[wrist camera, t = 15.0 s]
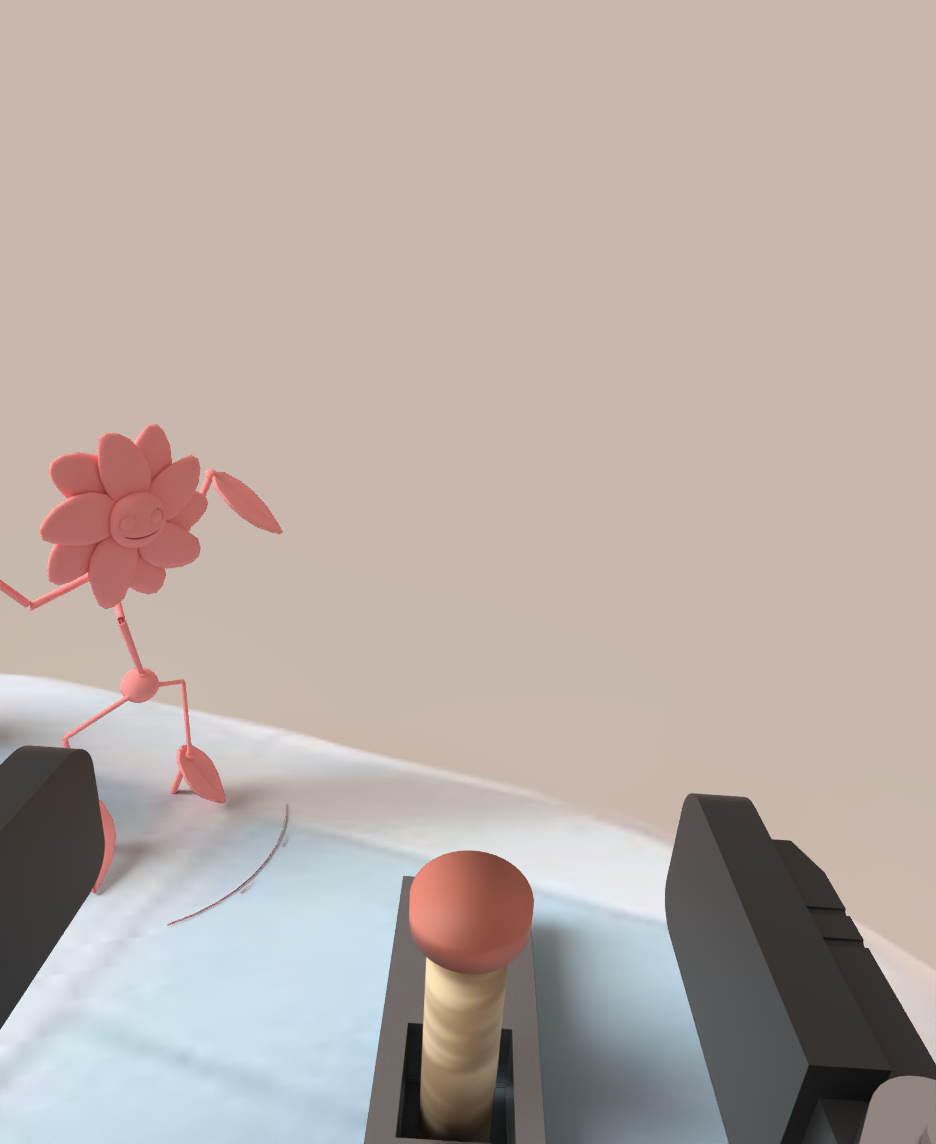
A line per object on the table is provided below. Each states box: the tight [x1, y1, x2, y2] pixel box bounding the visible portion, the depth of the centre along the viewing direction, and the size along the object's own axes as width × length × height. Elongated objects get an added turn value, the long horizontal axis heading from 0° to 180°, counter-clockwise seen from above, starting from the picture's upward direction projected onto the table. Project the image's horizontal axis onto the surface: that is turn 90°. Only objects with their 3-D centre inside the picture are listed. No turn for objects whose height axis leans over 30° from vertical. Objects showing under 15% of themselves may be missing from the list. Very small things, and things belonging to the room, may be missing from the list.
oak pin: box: [409, 851, 534, 1144], centre depth 37 cm, size 6×6×18 cm
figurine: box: [0, 424, 286, 925], centre depth 52 cm, size 15×26×35 cm, turn 145°
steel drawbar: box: [364, 876, 546, 1144], centre depth 39 cm, size 9×28×5 cm, turn 178°
